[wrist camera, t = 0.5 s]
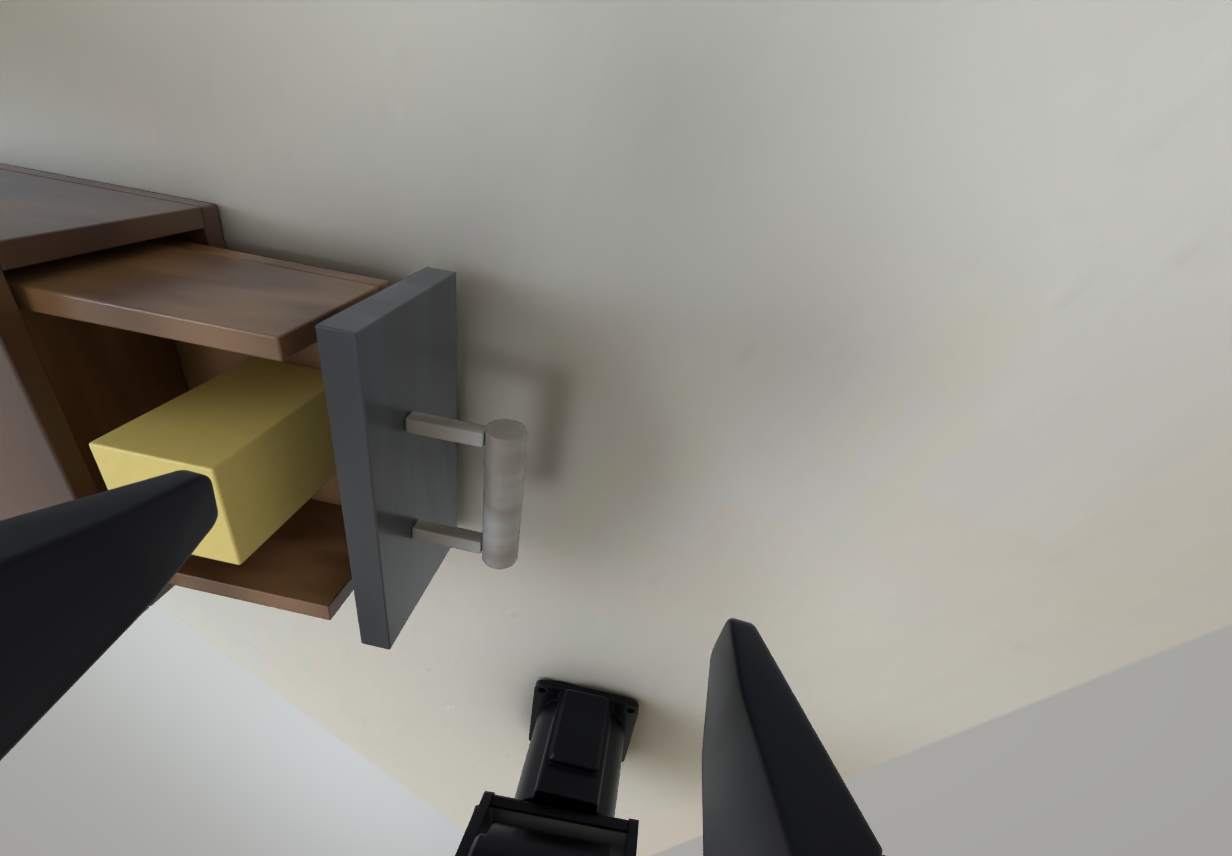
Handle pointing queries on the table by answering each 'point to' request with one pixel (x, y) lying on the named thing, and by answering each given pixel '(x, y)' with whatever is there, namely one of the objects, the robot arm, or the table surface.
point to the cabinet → (3, 349)
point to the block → (234, 449)
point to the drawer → (355, 396)
